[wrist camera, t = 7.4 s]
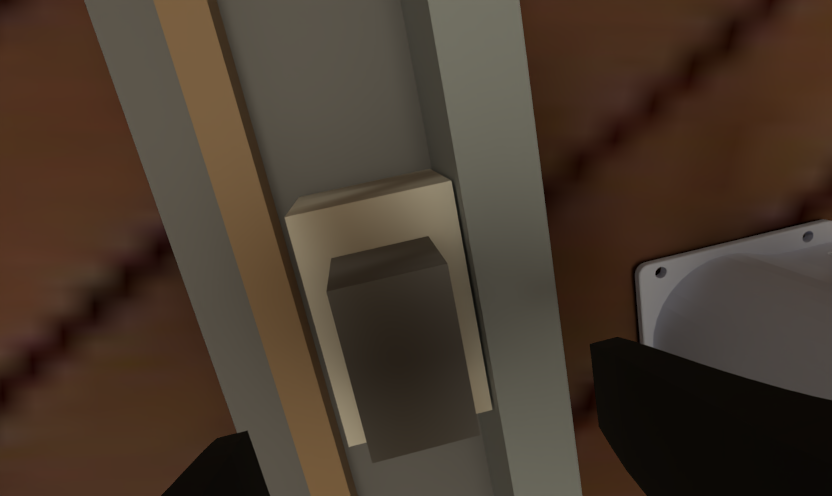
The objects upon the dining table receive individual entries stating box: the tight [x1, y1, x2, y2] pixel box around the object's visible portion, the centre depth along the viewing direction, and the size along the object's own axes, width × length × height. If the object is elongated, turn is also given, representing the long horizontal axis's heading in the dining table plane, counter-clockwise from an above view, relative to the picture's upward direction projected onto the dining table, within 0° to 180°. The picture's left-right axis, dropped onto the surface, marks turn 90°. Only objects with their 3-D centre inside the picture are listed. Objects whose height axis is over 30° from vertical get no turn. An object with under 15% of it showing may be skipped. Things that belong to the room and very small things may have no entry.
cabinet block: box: [284, 169, 492, 463], centre depth 16 cm, size 5×8×7 cm, turn 12°
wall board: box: [84, 0, 582, 496], centre depth 17 cm, size 13×28×6 cm, turn 11°
